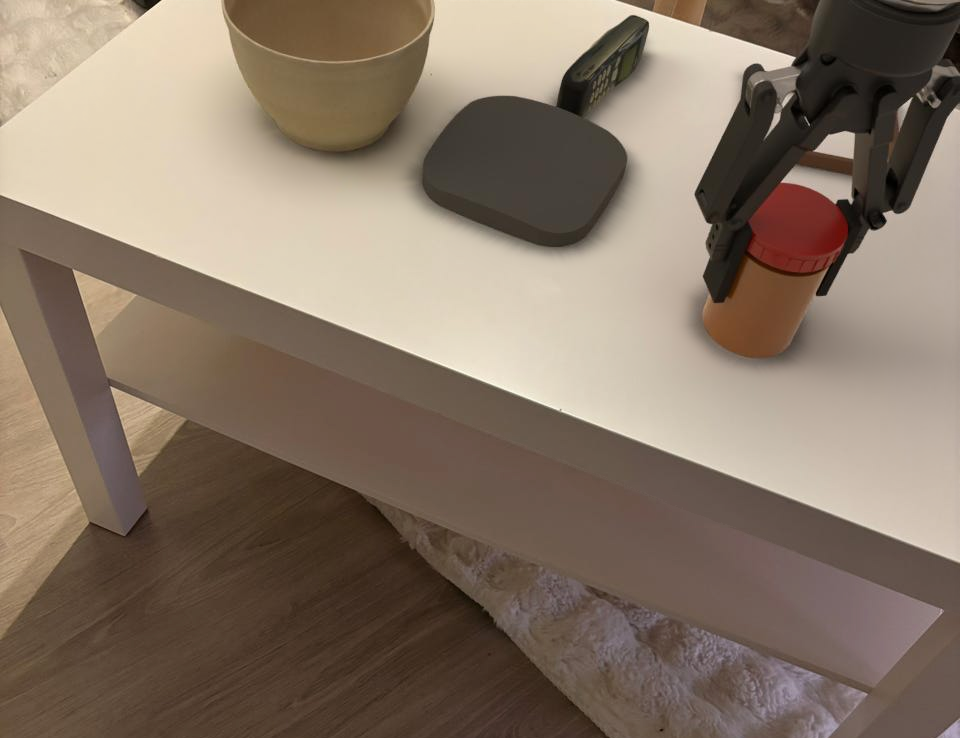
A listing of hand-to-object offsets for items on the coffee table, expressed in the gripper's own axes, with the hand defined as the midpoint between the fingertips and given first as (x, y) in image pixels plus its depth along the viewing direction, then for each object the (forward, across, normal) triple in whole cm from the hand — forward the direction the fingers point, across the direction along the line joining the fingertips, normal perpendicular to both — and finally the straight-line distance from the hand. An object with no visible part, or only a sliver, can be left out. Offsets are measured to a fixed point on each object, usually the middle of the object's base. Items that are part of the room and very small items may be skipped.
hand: (764, 285), depth 74 cm
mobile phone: (+5, +4, -30) cm, 31 cm away
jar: (+5, 0, 0) cm, 5 cm away
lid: (-6, 0, 0) cm, 6 cm away
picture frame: (+5, -15, -22) cm, 27 cm away
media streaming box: (+5, +14, -18) cm, 23 cm away
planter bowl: (+5, +28, -27) cm, 39 cm away
